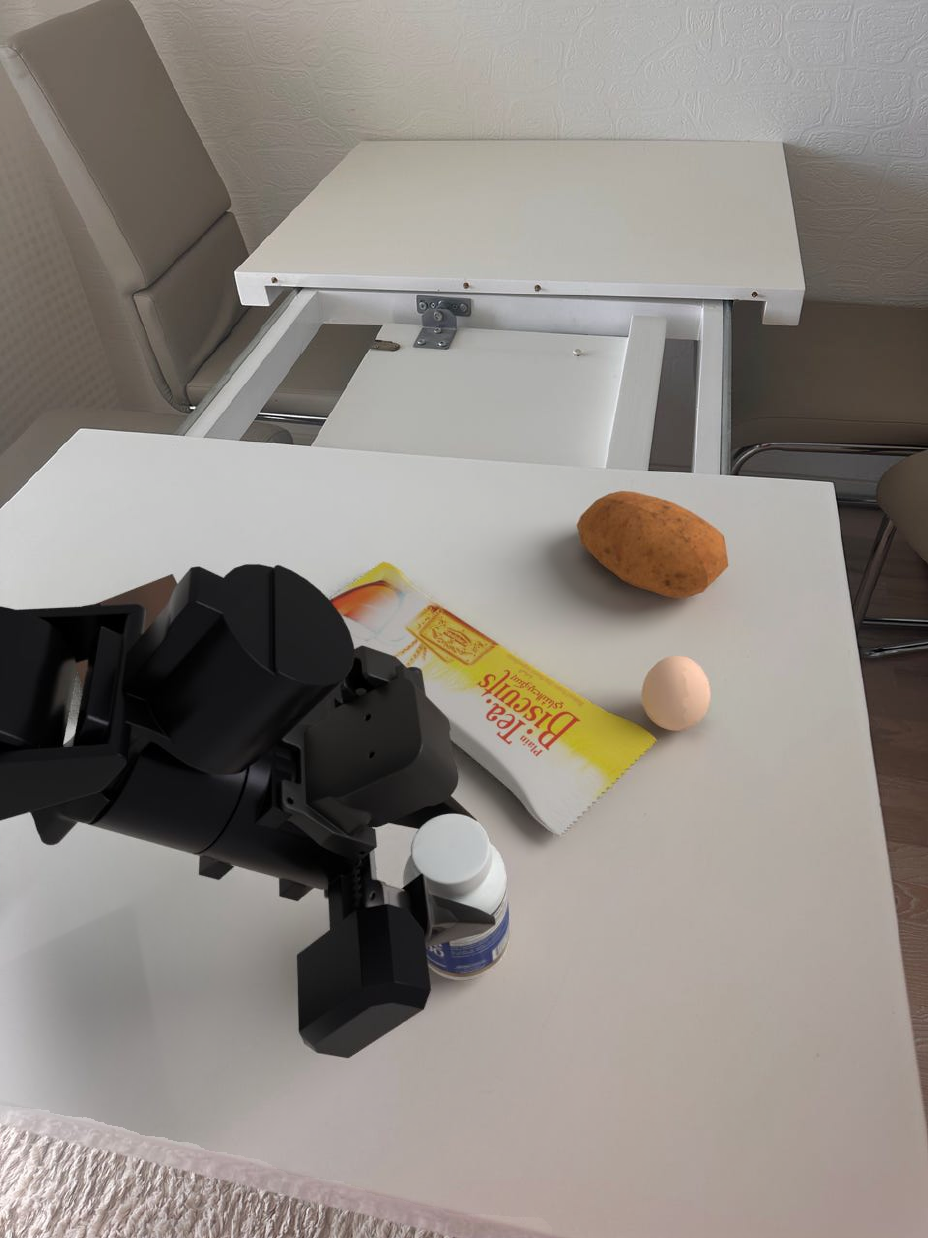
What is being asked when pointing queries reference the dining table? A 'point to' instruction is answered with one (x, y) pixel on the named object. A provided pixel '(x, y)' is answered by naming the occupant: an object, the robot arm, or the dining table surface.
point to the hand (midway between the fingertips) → (481, 875)
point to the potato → (653, 543)
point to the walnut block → (147, 596)
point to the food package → (496, 700)
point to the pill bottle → (463, 890)
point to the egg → (676, 693)
